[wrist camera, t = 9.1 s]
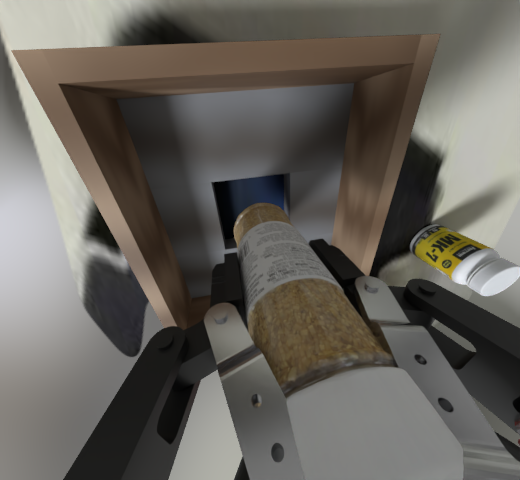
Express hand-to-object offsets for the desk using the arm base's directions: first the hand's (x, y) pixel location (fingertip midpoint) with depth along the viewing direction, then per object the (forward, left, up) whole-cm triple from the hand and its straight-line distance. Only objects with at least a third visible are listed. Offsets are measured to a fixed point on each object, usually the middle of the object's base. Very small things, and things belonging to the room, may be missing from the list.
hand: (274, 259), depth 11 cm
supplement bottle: (+8, +23, -9) cm, 26 cm away
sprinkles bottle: (0, 0, -4) cm, 4 cm away
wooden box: (0, 0, -9) cm, 9 cm away
